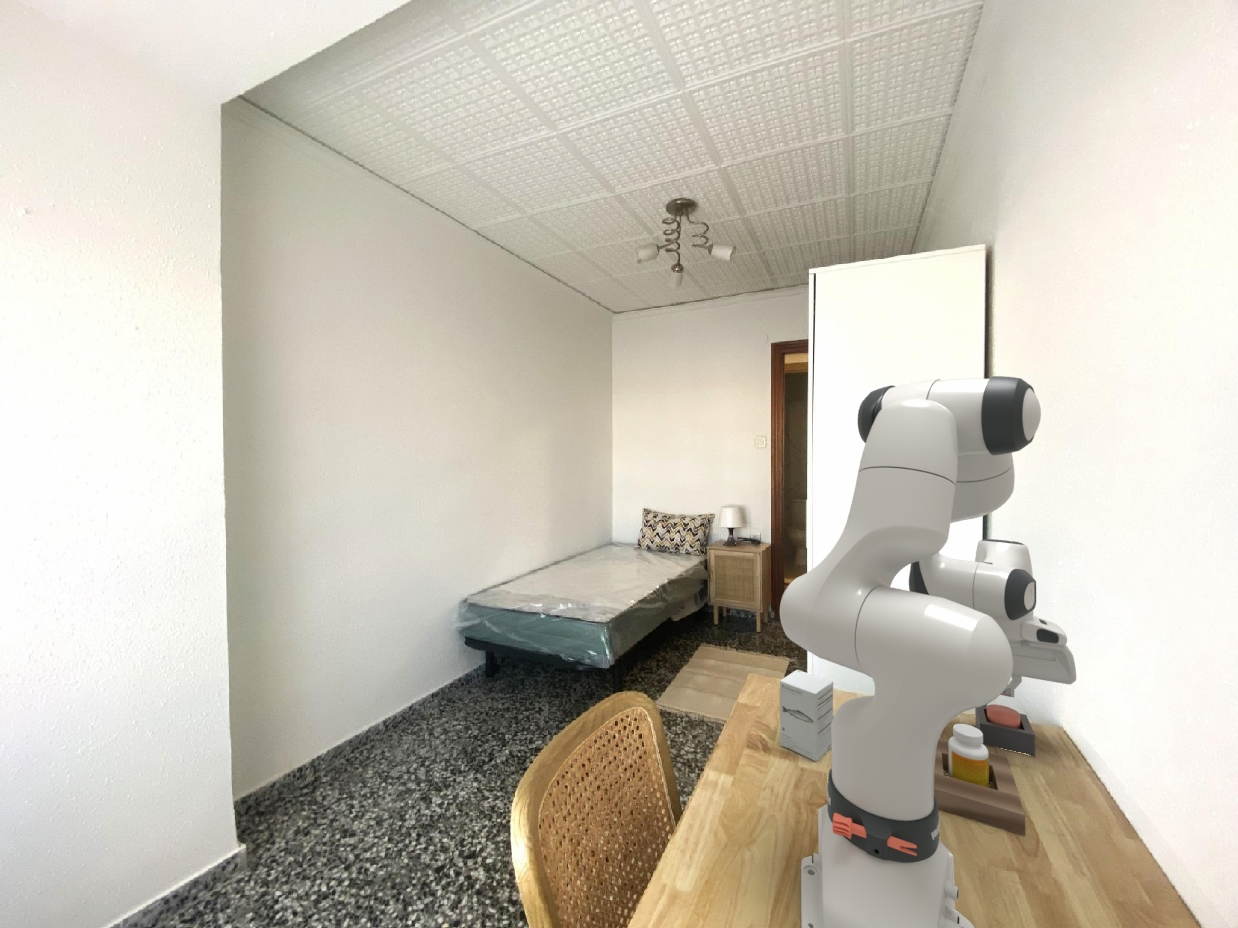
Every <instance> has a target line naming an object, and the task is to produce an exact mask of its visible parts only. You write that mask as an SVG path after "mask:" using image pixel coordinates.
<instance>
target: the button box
mask: <svg viewBox="0 0 1238 928" xmlns="http://www.w3.org/2000/svg"><path fill="white" fill-rule="evenodd" d="M974 709H975V710H974V711H975V713H974V714H975V715H974V716H976V717H974V719H975V723H974V724H975V728H977V729H979V730H980V731H981V732H982V733H983V745H984V746H985V747H991V748H995V747H998V748H997V749H999V748H1003V749H1007V750H1012V751H1016V752H1021V753H1026V754H1029V755H1031V756H1030V757H1032V756H1033V758H1036V735H1035V732H1034V730H1033V728H1032V725H1031V723H1030V720H1029V719H1028V718H1029V717H1028V716H1027V714H1024V713H1020V712H1018V713H1019V714H1020V729H1018V728H1013V727H1009V726H1004V725H999V724H995V723H990V722H987V706H986V705H984V706H981V707H977V708H974ZM1003 749H1002V750H1003ZM1007 750H1006V751H1007Z"/></svg>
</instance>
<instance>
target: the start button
mask: <svg viewBox="0 0 1238 928" xmlns="http://www.w3.org/2000/svg"><path fill="white" fill-rule="evenodd" d="M986 707H987V722H990V723H995V724H999V725H1004V726H1009V727H1013V728H1018V729H1020V714H1021V713H1020V712H1019V711H1017V710H1015V708H1011V707H1009V706H1005V705H1002V704H993V703H992V704H987V706H986ZM1019 713H1020V714H1019Z"/></svg>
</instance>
